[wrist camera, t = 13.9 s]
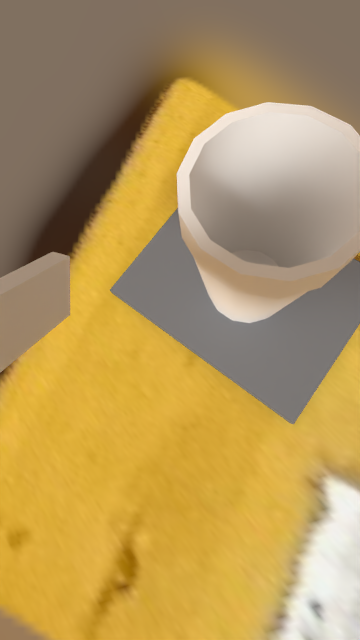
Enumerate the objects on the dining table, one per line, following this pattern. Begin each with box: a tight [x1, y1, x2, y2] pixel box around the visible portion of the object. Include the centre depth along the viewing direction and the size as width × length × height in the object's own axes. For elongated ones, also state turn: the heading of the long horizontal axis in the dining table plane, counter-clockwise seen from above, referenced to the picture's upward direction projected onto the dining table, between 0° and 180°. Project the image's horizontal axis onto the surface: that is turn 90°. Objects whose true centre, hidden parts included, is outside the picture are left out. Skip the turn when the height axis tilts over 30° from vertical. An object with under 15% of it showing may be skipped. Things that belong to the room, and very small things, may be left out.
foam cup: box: [177, 102, 360, 323], centre depth 22 cm, size 10×9×13 cm
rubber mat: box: [110, 208, 360, 424], centre depth 29 cm, size 18×14×1 cm
